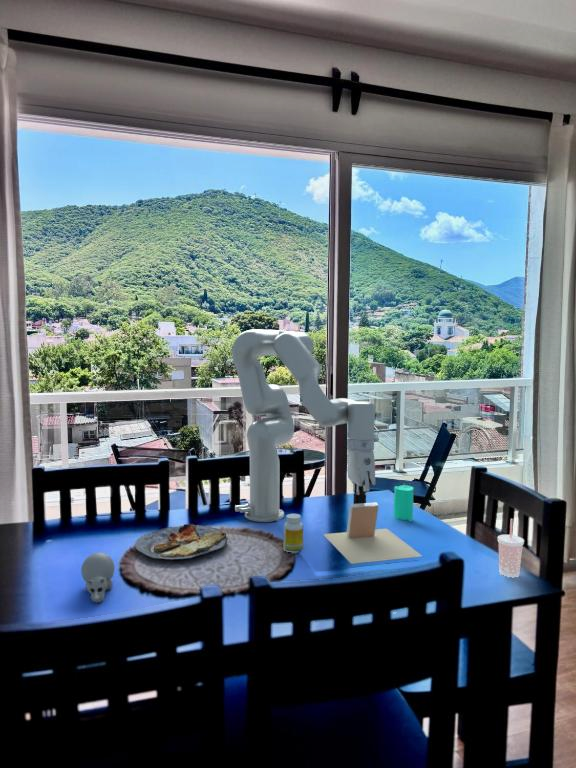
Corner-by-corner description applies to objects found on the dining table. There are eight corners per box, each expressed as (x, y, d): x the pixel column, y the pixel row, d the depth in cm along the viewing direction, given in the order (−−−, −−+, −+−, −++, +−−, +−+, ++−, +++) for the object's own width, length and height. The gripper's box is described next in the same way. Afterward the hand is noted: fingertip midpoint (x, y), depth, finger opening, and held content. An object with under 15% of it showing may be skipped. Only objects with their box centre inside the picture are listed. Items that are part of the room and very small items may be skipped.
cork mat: (351, 567, 146) (351, 563, 146) (323, 537, 167) (323, 534, 167) (422, 559, 151) (422, 556, 151) (386, 531, 172) (386, 528, 172)
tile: (348, 538, 164) (352, 508, 161) (346, 534, 166) (350, 504, 162) (374, 536, 166) (379, 505, 163) (372, 532, 168) (376, 502, 164)
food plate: (194, 525, 176) (194, 514, 176) (244, 546, 160) (244, 534, 159) (120, 548, 159) (119, 536, 158) (166, 575, 142) (166, 561, 142)
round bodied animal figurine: (79, 615, 126) (76, 587, 122) (84, 574, 136) (81, 547, 132) (113, 611, 127) (111, 583, 123) (116, 571, 138) (114, 544, 134)
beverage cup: (508, 580, 139) (511, 524, 138) (490, 571, 144) (492, 516, 143) (528, 576, 141) (530, 521, 140) (509, 567, 147) (511, 513, 146)
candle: (411, 517, 186) (412, 480, 185) (413, 523, 180) (414, 485, 179) (392, 516, 187) (393, 480, 186) (394, 522, 181) (395, 485, 180)
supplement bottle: (280, 548, 159) (280, 514, 158) (297, 545, 161) (297, 511, 160) (288, 555, 154) (289, 520, 153) (306, 551, 156) (306, 517, 155)
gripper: (384, 448, 158) (382, 514, 160) (362, 439, 173) (361, 499, 174) (358, 450, 156) (357, 516, 158) (339, 440, 171) (338, 500, 172)
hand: (359, 507), depth 166 cm, fingers closed
